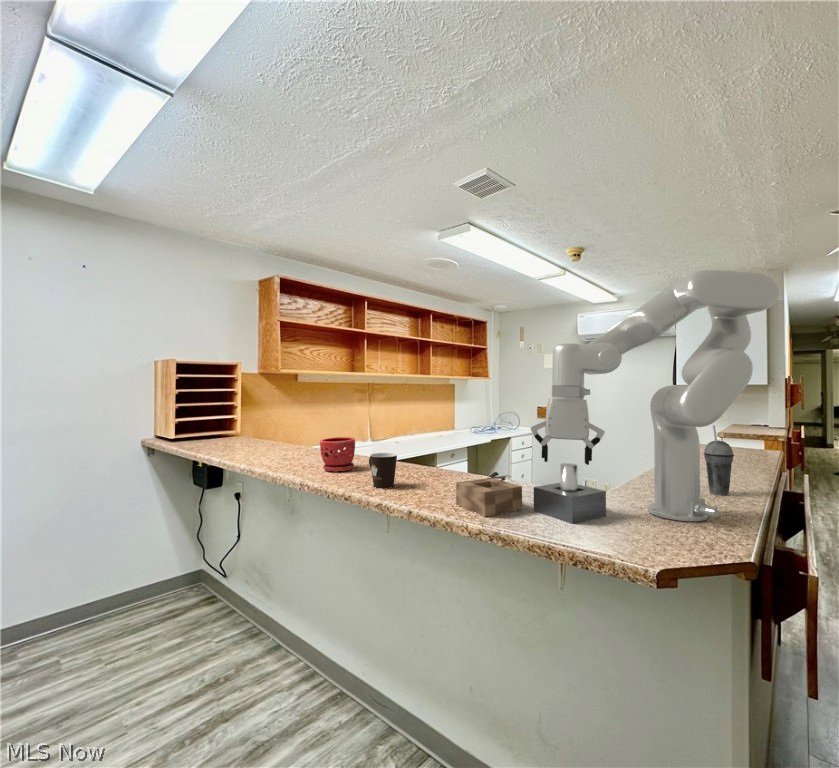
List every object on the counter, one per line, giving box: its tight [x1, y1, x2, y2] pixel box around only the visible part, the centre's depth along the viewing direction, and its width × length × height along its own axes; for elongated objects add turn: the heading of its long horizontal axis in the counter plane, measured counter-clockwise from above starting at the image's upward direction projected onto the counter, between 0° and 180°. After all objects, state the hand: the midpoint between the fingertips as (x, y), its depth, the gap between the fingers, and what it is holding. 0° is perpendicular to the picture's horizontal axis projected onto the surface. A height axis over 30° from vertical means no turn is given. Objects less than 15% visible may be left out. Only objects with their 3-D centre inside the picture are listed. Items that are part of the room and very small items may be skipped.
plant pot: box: [319, 436, 356, 473], centre depth 161 cm, size 13×13×12 cm
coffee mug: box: [368, 452, 398, 489], centre depth 135 cm, size 12×9×10 cm
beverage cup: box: [703, 424, 735, 497], centre depth 123 cm, size 7×7×20 cm
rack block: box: [455, 477, 523, 518], centre depth 110 cm, size 12×12×6 cm
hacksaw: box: [488, 471, 512, 481], centre depth 140 cm, size 24×10×2 cm, turn 154°
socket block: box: [533, 482, 607, 525], centre depth 105 cm, size 12×12×6 cm
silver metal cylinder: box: [559, 463, 579, 493], centre depth 105 cm, size 4×4×12 cm
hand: (566, 462), depth 105 cm, fingers open, 9 cm apart
